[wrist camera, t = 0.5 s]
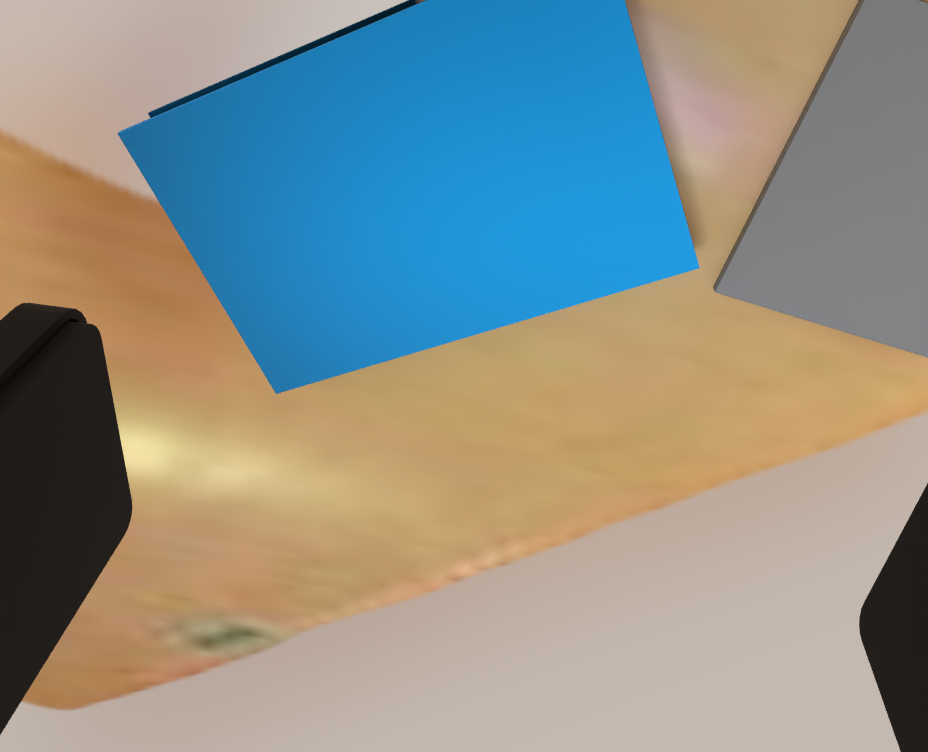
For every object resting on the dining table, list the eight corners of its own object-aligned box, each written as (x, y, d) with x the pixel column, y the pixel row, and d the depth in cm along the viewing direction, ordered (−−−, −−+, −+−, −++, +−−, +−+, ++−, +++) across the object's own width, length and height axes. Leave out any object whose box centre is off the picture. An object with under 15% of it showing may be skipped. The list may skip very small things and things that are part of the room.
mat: (868, -18, 37) (872, -16, 37) (1132, 71, 38) (1139, 74, 38) (713, 287, 46) (714, 292, 46) (930, 354, 47) (934, 359, 46)
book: (113, 135, 41) (601, -83, 34) (151, 110, 45) (599, -91, 37) (281, 404, 49) (706, 278, 42) (302, 365, 53) (697, 243, 45)
